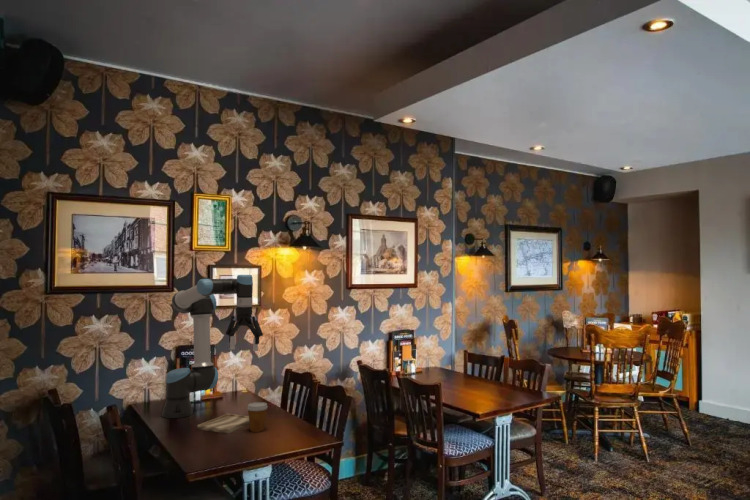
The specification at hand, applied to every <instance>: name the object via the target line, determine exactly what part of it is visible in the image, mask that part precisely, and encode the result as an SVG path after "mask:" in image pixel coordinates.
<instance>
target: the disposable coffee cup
mask: <svg viewBox="0 0 750 500" xmlns="http://www.w3.org/2000/svg"><path fill="white" fill-rule="evenodd" d="M268 407H269V406H268V403H266V402H262V401H255V402H251V403H249V404H247V412H248V416H249V422H250V424H249V428H250V430H249V431H250V432H252V433H259V432H262V431H264V430H265V425H266V424H265V423H266V417H267V409H268Z"/></svg>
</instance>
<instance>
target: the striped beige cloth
mask: <svg viewBox="0 0 750 500" xmlns="http://www.w3.org/2000/svg"><path fill="white" fill-rule="evenodd" d="M247 426H250V422H249V415H241V414H235V413H225V414H223V415H220V416H218V417H214V418H213V419H210V420H207V421H205V422H202V423H200V424H197V430H202V431H207V432H215V433H221V434H227V435H228V434H230V433H232V432H235V431H239V430H240V429H242V428H244V427H247Z"/></svg>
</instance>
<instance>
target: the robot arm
mask: <svg viewBox="0 0 750 500" xmlns="http://www.w3.org/2000/svg"><path fill="white" fill-rule="evenodd" d="M253 286H254V281H253V275H251V274H238V275H237V276H236V278H201V279H199V280H198V281H197V283H196V285H194V286H192V287H190V288H188V289H186V290H183V289H182V290H179V291H178V292H176V293H175V294H173V296H172V298H171V305H172V306H173V309H175V310H176V311H178V312H180V313H188V314H190V315H189V316H190V317H191V318H192V320H193V324H192V325H193V360H194V361H193V364H192V365H191V366H190V367H191V369H190V368H188V367H182V368H181V367H180V368H176V369H171V370H170V371H168V372H167V373H166V378H165V402H164V405H163V409H162V412H161V416H162V418H165V419H180V418H186V417H189V416H192V415H193V413H194V411H193V409H194V408H193V407H192V403H191V399H190V395H191V393H196V392H201V391H208V390H211V389H212V390H213V389H214V388H215V387H216V385H217V384H218V382H219V381H218V380H219V371H218V369H217V367H216V366H215V364H214V363H213V362H212V359H211V354H212V353H211V324H210V320H211V319H210V318H211V317H212V316H213V312H214V311H216V308H217V299H216V296H215V295H234V294H235V295H236V306H237V307H236V309H235V310H236V311H235V313H236V315H231V317H230V322H229V325H228V327H227V329H226V332H225V335H227V336H229V337H228V339H229V340H228V343H229V351H233V350H236V335H235V334H236V332H237V331H238V330H239V328H241V326H243V327H246V328H247V327H248V329H249V330H250V333H252V335H253V336H254V337H253V338H252V339H253V340H252V341H253V342H252V346H253V347H252V352H257V351H258V350H259V344H260V337H262V336H264V333H263V330H262V329H261V326H260V324H259V320H258V316H252V315H253V307H252V306H253V291H254V290H253V289H254V288H253Z"/></svg>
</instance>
